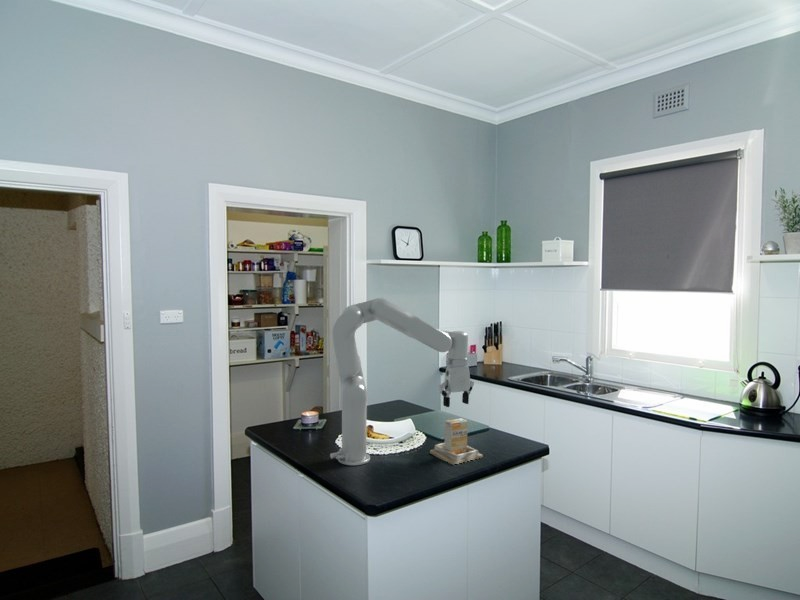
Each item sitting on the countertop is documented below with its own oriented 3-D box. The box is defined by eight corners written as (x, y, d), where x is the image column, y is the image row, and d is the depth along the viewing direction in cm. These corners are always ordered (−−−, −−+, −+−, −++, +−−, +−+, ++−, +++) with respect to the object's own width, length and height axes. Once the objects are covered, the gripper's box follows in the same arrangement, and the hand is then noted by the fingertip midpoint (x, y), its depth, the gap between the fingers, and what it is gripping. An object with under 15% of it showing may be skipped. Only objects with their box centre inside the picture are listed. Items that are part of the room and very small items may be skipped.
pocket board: (453, 465, 191) (453, 457, 190) (430, 453, 203) (430, 445, 203) (482, 457, 199) (482, 450, 199) (458, 446, 211) (458, 438, 211)
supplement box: (450, 456, 197) (451, 423, 196) (443, 452, 201) (444, 420, 200) (467, 452, 201) (468, 420, 200) (460, 448, 205) (460, 417, 205)
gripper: (446, 366, 191) (444, 410, 192) (480, 362, 200) (478, 404, 201) (434, 362, 197) (433, 405, 198) (468, 359, 206) (466, 400, 207)
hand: (456, 404), depth 200 cm, fingers open, 9 cm apart
